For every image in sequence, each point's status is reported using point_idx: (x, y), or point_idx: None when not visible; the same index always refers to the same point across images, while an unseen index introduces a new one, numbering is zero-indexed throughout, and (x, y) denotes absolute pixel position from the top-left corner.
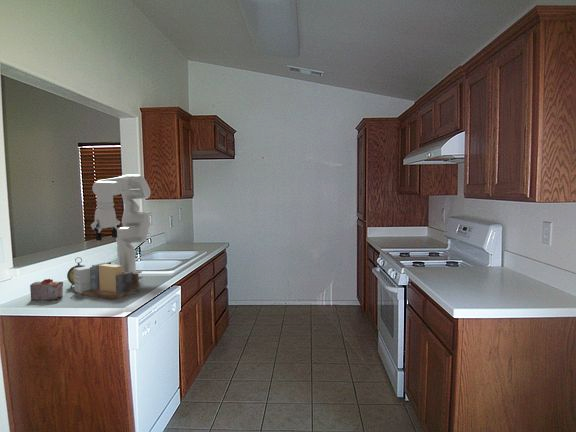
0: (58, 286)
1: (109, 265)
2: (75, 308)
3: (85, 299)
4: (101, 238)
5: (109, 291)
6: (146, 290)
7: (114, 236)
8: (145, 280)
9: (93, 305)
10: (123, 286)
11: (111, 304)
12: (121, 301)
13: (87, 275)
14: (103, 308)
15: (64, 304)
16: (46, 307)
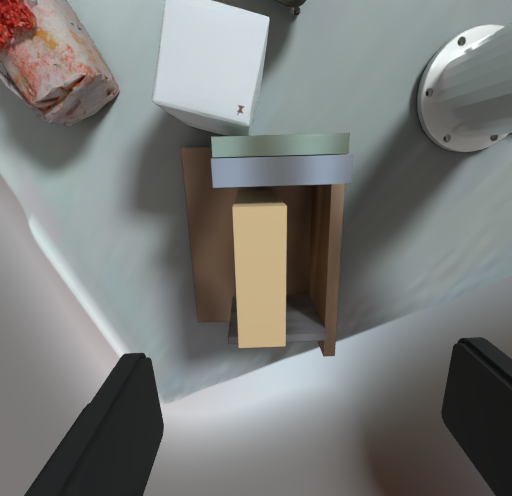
0: (52, 112)
1: (258, 278)
2: (73, 289)
3: (150, 224)
4: (154, 454)
5: None
6: None
7: (457, 402)
8: (470, 199)
9: (125, 312)
10: None
11: (163, 351)
12: (200, 352)
13: (210, 123)
14: None
15: (71, 212)
16: (12, 185)
